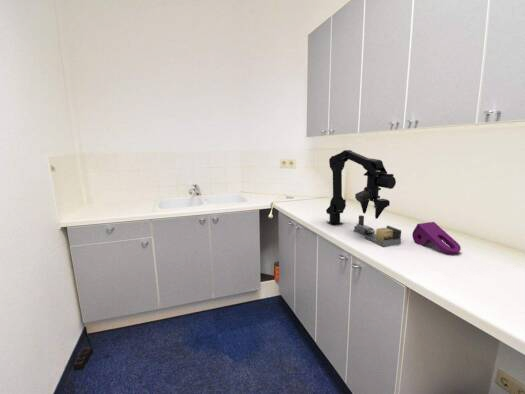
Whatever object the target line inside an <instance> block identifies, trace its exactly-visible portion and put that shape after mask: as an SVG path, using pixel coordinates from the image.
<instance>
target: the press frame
mask: <svg viewBox="0 0 525 394" xmlns="http://www.w3.org/2000/svg"><path fill="white" fill-rule="evenodd" d="M386 228H387V229H390V230H392V231H393V236H392V239H391V240H384V241H380V240H378V239H376V234H375V233H372V232H371V233H366V230H365V229H363V228H360V227H358V226H356V225H354V228H353V229H354V230H352V231H353V232H355V233H356V234H360V235H361V236H363V237H364V239H366V240H368V241H370V242H372V243H374V244H376V245H378V246H380V247H382V248H384V247H385V248H386V247H392V246H396V245H398V246H399V245H401V242H402V237H401V236H402V230H401V229H398V228H396V227H394V226H391V225H386ZM372 230H373V231H375V229H374V228H372Z"/></svg>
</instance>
